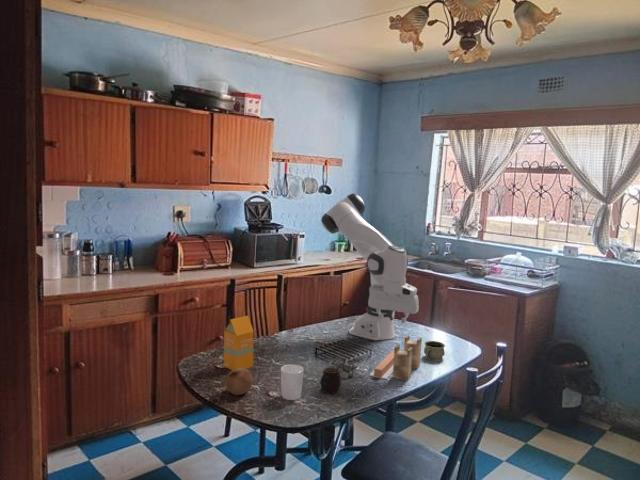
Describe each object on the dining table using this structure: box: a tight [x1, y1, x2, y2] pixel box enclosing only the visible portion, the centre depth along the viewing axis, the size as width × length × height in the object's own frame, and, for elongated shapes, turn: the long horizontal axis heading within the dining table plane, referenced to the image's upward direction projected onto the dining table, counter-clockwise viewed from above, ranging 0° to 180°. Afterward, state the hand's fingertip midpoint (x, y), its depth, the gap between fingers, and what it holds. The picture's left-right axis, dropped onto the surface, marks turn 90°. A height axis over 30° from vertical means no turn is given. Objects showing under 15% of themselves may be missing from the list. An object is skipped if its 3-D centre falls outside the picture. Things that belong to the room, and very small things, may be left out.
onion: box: [225, 368, 254, 396], centre depth 178 cm, size 10×9×10 cm
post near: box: [392, 344, 413, 382], centre depth 197 cm, size 6×4×12 cm, turn 64°
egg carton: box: [328, 360, 358, 379], centre depth 200 cm, size 11×8×4 cm
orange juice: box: [223, 315, 255, 371], centre depth 202 cm, size 8×9×20 cm
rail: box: [373, 349, 394, 378], centre depth 208 cm, size 3×24×3 cm, turn 154°
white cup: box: [280, 364, 304, 401], centre depth 177 cm, size 8×8×10 cm
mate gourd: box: [319, 364, 342, 394], centre depth 183 cm, size 7×8×10 cm
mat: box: [369, 366, 393, 381], centre depth 208 cm, size 7×24×1 cm, turn 154°
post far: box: [403, 334, 423, 370], centre depth 210 cm, size 6×4×12 cm, turn 65°
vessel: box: [423, 340, 446, 362], centre depth 220 cm, size 12×9×6 cm
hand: (392, 320), depth 205 cm, fingers open, 8 cm apart
